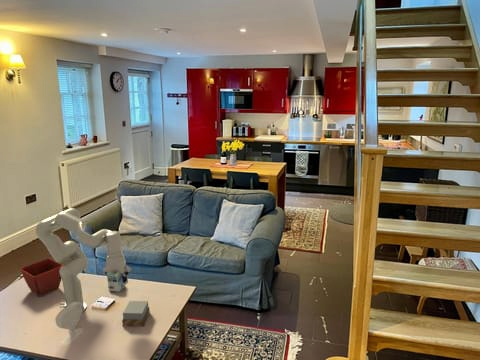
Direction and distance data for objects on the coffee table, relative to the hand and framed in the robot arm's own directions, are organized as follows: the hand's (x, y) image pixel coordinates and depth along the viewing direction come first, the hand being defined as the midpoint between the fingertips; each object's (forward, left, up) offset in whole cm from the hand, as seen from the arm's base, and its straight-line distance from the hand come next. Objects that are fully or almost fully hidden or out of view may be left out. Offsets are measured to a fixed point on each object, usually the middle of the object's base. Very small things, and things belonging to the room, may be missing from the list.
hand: (118, 281), depth 204 cm
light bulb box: (0, 0, -3) cm, 3 cm away
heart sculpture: (-22, -15, -25) cm, 36 cm away
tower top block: (+9, 0, -20) cm, 22 cm away
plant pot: (-63, +31, -25) cm, 74 cm away
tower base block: (+9, 0, -25) cm, 26 cm away
